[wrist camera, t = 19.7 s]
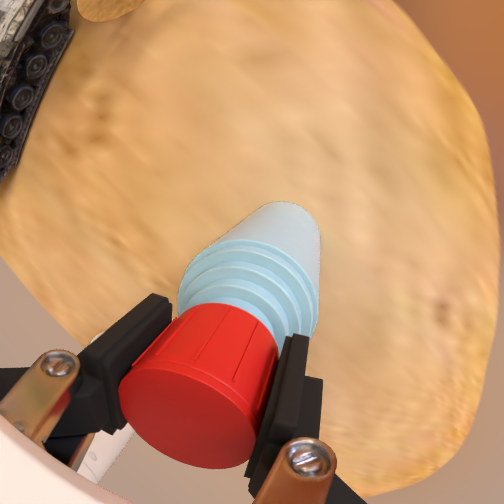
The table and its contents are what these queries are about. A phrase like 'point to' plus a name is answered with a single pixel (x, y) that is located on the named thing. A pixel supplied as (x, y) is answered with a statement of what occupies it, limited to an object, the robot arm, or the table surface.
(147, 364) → the cap
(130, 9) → the wall sconce
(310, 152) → the table surface
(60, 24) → the tank
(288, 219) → the bottle
